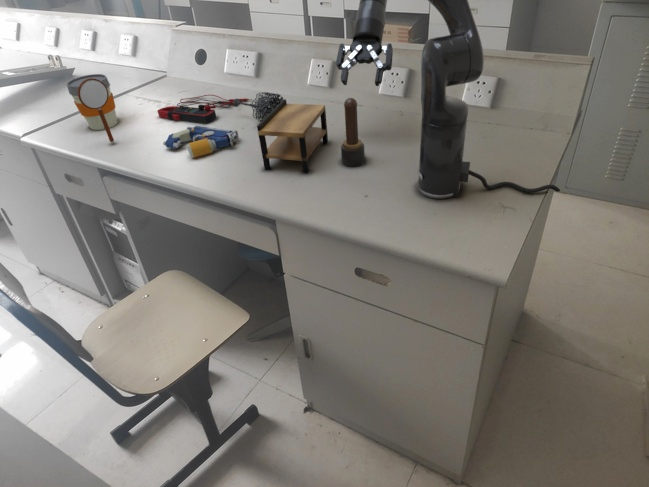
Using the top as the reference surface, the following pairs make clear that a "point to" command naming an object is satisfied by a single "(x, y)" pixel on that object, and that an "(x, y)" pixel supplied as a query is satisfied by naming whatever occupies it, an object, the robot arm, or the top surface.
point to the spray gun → (201, 139)
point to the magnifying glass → (95, 99)
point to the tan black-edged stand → (292, 132)
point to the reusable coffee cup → (93, 114)
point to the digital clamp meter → (194, 111)
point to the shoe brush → (352, 137)
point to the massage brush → (262, 104)
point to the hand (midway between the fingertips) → (360, 84)
